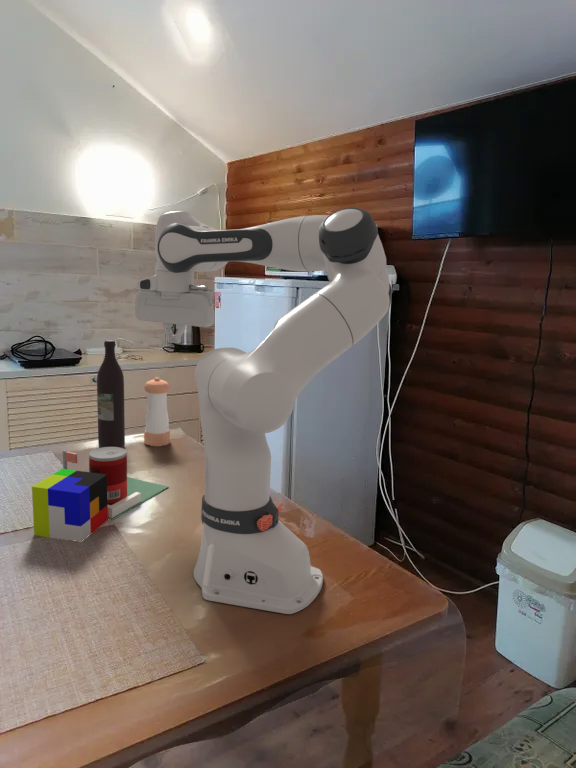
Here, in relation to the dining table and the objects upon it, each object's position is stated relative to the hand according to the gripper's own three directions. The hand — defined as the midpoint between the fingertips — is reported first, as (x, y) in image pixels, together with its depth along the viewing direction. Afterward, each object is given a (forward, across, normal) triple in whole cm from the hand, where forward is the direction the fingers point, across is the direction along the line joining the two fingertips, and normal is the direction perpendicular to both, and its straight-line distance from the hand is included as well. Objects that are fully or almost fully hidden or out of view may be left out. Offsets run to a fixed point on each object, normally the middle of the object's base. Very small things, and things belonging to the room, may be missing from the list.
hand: (174, 342), depth 141 cm
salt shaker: (+33, +18, -18) cm, 42 cm away
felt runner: (+33, +3, +18) cm, 38 cm away
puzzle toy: (+34, +1, +34) cm, 48 cm away
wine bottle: (+33, +26, -8) cm, 43 cm away
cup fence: (+33, +3, +22) cm, 40 cm away
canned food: (+33, +3, +21) cm, 39 cm away
